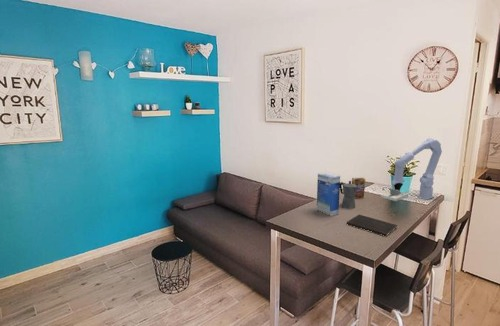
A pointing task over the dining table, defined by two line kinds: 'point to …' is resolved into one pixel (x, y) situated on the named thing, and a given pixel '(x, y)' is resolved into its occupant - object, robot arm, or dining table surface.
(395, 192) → the fader cap
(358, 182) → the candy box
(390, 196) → the console
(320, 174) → the string lights box
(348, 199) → the coffeepot
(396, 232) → the dining table surface
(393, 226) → the black spiral notebook
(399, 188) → the robot arm
